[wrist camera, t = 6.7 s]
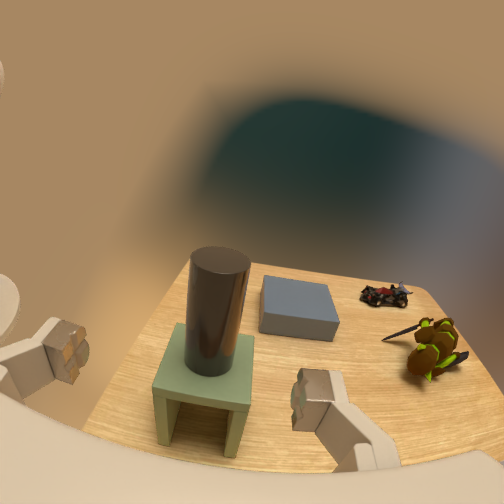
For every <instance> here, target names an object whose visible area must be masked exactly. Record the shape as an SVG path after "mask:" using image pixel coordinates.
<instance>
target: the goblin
mask: <svg viewBox="0 0 504 504" xmlns="http://www.w3.org/2000/svg"><path fill="white" fill-rule="evenodd" d="M433 320H434V319H433V318H432V319H429V318H428V317H427V318H422V319H421V320H420V321H419V324H418V325H415V326H412V327H410V328H407V329H405V330H403V331H400V332H398V333H395V334H393V335H391V336H388V337H386V338H384V339H383V340H387V339H390V338H393V337H396V336H399V335H402V334H405V333H408V332H410V331H413V330H415V329H417V327H419V326H421V329H420V330H418V331H417V332H415V333H414V336H415V340H416V342H417V343H421V344H420V345H418V347H417V348H416V349H415V350H414V351H412V353H411V354H410V356H409V357H408V361H407V368H408V370H409V371H410V372H411V373H412V375H419V376H423V375H425V376H426V378H427V379H428V380H429V382H430V383H431V377H433V376H438V375H440V374H443V373H444V372H445V370H444V369H442V368H446V367H452V366H454V365H456V364H459V363H461V362H462V361H464V360H465V359H467V358H468V355H469V351H467V352H462V353H459V352H453V350H454V349H455V348H456V346H457V341H458V337H459V336H458V334H457V332H456V331H455V329H454V328H453V324H454V322H453V320H452V319H451V318H444V319H441V320H439V321H437V322H434V325H433V326H429V324H430V322H431V321H433ZM383 340H381V341H383ZM452 352H453V353H452ZM439 362H440V363H439Z"/></svg>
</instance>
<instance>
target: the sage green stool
mask: <svg viewBox="0 0 504 504" xmlns="http://www.w3.org/2000/svg"><path fill="white" fill-rule="evenodd" d="M185 325H186V324H182V323H176V326H175V328H174V331H173V333H172V336H171V338H170V341H169V343H168V346H167V348H166V351H165V353H164V356H163V358H162V361H161V364H160V366H159V369H158V371H157V374H156V377H155V379H154V382H153V384H152V393H153V403H154V412H155V421H156V429H157V437H158V444H161V445H165V446H170V442H171V439H172V435H173V431H174V427H175V423H176V419H177V416H178V412H179V408H180V404H181V401H182V402H187V403H192V404H197V405H203V406H208V407H214V408H220V409H227V410H229V415H228V423H227V432H226V440H225V449H224V457H231V458H235V457H236V453H237V450H238V447H239V443H240V440H241V437H242V433H243V430H244V426H245V423H246V419H247V416H248V412H249V409H250V405H251V392H252V373H253V355H254V336H251V335H244V334H238V339H237V344H236V350H235V355H234V361H233V365H232V368H231V369H230V370H229V371H228V372H227V373H225V374H223V375H221V376H216V377H206V376H201V375H198V374H196V373H194V372H193V371H191V370H190V369H189V368H188V367H187V366H186V364H185V361H184V345H185Z"/></svg>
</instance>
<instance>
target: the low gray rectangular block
mask: <svg viewBox="0 0 504 504" xmlns="http://www.w3.org/2000/svg"><path fill="white" fill-rule="evenodd" d="M339 323H340V321H339V318H338V315H337V312H336V309H335V306H334V303H333V301H332V298H331V295H330V292H329V289H328V286H327V285H325V284H318V283H312V282H305V281H299V280H293V279H286V278H280V277H274V276H268V275H264V279H263V284H262V289H261V294H260V328H259V332H260V333H267V334H274V335H281V336H289V337H297V338H305V339H314V340H323V341H333V338H334V336H335V333H336V331H337V328H338V326H339Z"/></svg>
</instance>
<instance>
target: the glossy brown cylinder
mask: <svg viewBox="0 0 504 504" xmlns="http://www.w3.org/2000/svg"><path fill="white" fill-rule="evenodd" d="M250 268H251V262H250V259H249V258H248V257H247V256H246V255H244V254H243V253H241V252H239V251H236V250H233V249H229V248H225V247H203V248H199V249H197V250H195V251H194V252H192V254H191V256H190V267H189V280H188V293H187V308H186V325H185V345H184V361H185V364H186V366H187V367H188V368H189V369H190V370H191V371H193V372H194V373H196V374H198V375H201V376H206V377H216V376H221V375H223V374H225V373H227V372H228V371H229V370H230V369H231V368H232V365H233V361H234V355H235V350H236V344H237V339H238V334H239V328H240V323H241V317H242V312H243V306H244V301H245V295H246V290H247V284H248V279H249V273H250Z"/></svg>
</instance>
